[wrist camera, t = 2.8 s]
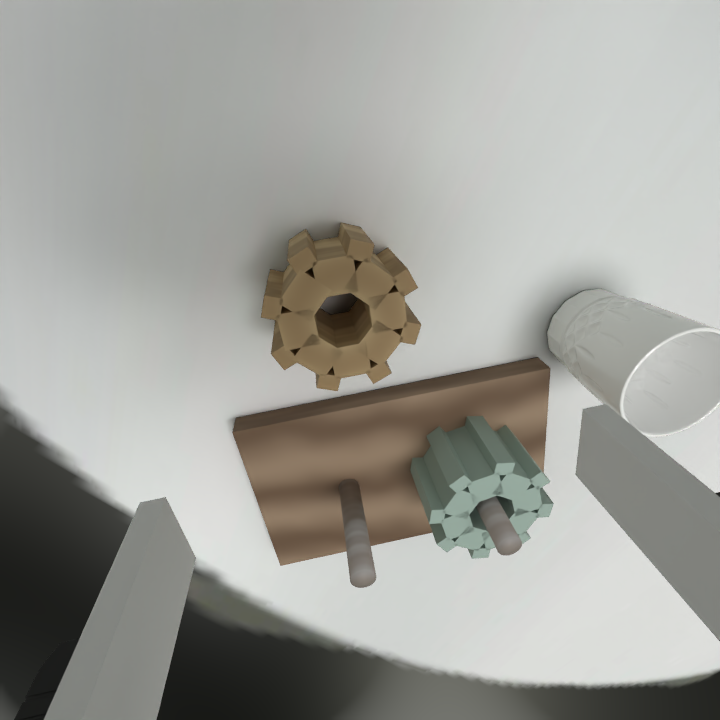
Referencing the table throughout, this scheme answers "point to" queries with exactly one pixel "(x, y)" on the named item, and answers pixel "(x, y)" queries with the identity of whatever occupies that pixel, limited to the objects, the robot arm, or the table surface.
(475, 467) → the pale green gear
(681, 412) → the white cup
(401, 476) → the walnut gear board
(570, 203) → the table surface
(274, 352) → the oak gear
